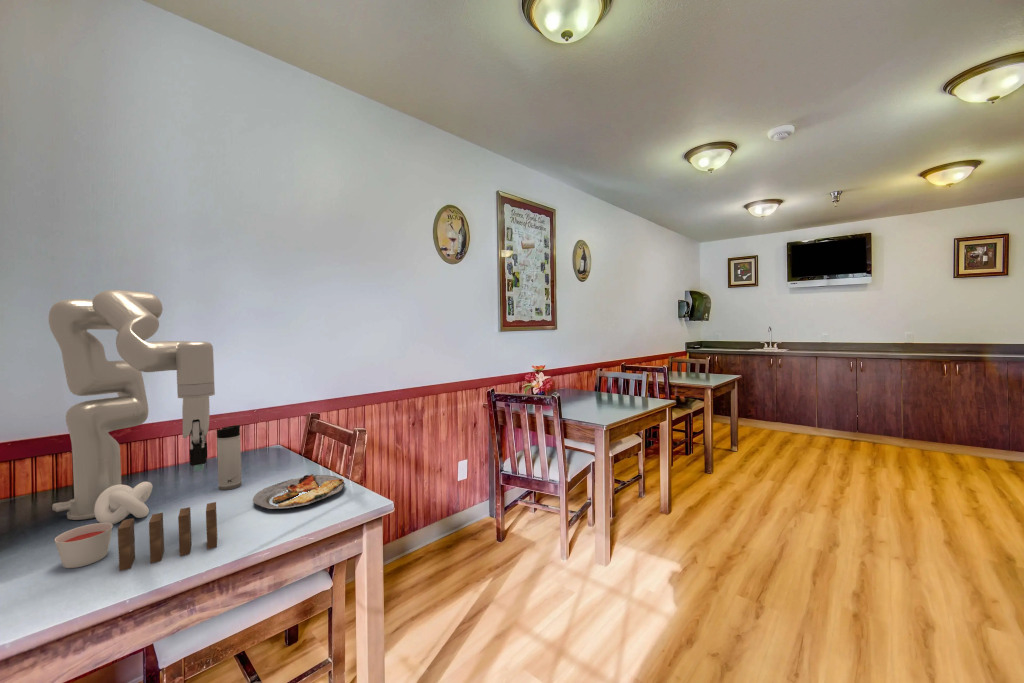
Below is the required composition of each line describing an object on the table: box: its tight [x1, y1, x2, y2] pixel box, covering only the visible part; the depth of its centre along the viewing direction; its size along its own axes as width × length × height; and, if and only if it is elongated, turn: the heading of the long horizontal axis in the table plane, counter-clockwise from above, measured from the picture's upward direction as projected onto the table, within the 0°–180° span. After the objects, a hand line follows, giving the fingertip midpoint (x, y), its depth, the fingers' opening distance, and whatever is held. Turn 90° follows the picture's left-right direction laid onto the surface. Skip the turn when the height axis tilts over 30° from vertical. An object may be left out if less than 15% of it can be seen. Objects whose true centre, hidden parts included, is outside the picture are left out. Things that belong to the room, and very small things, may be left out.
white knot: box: [94, 481, 153, 525], centre depth 113 cm, size 11×12×9 cm
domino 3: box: [177, 506, 192, 557], centre depth 96 cm, size 2×5×9 cm, turn 34°
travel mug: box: [216, 424, 243, 491], centre depth 135 cm, size 6×7×20 cm
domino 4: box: [193, 433, 205, 473], centre depth 106 cm, size 2×5×9 cm, turn 34°
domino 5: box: [205, 501, 218, 550], centre depth 99 cm, size 2×5×9 cm, turn 34°
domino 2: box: [148, 512, 165, 564], centre depth 93 cm, size 2×5×9 cm, turn 34°
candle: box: [54, 522, 114, 569], centre depth 92 cm, size 9×9×6 cm
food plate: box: [252, 473, 346, 510], centre depth 127 cm, size 25×23×4 cm
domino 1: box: [117, 517, 136, 572], centre depth 90 cm, size 2×5×9 cm, turn 34°
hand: (199, 460), depth 106 cm, fingers closed on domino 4, 4 cm apart
